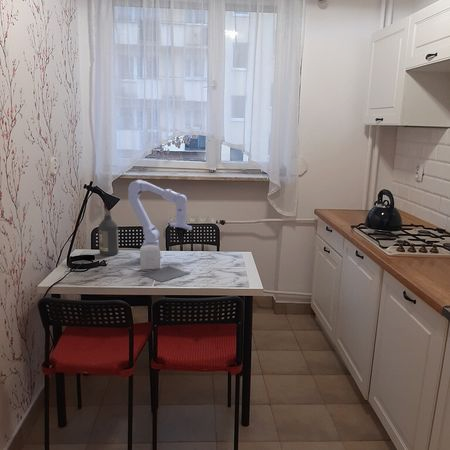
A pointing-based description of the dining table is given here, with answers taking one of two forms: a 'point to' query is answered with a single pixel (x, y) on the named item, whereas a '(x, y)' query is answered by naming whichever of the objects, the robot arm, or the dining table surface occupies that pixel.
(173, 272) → the mat
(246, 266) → the dining table surface
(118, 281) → the dining table surface
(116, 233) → the liquor
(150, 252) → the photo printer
